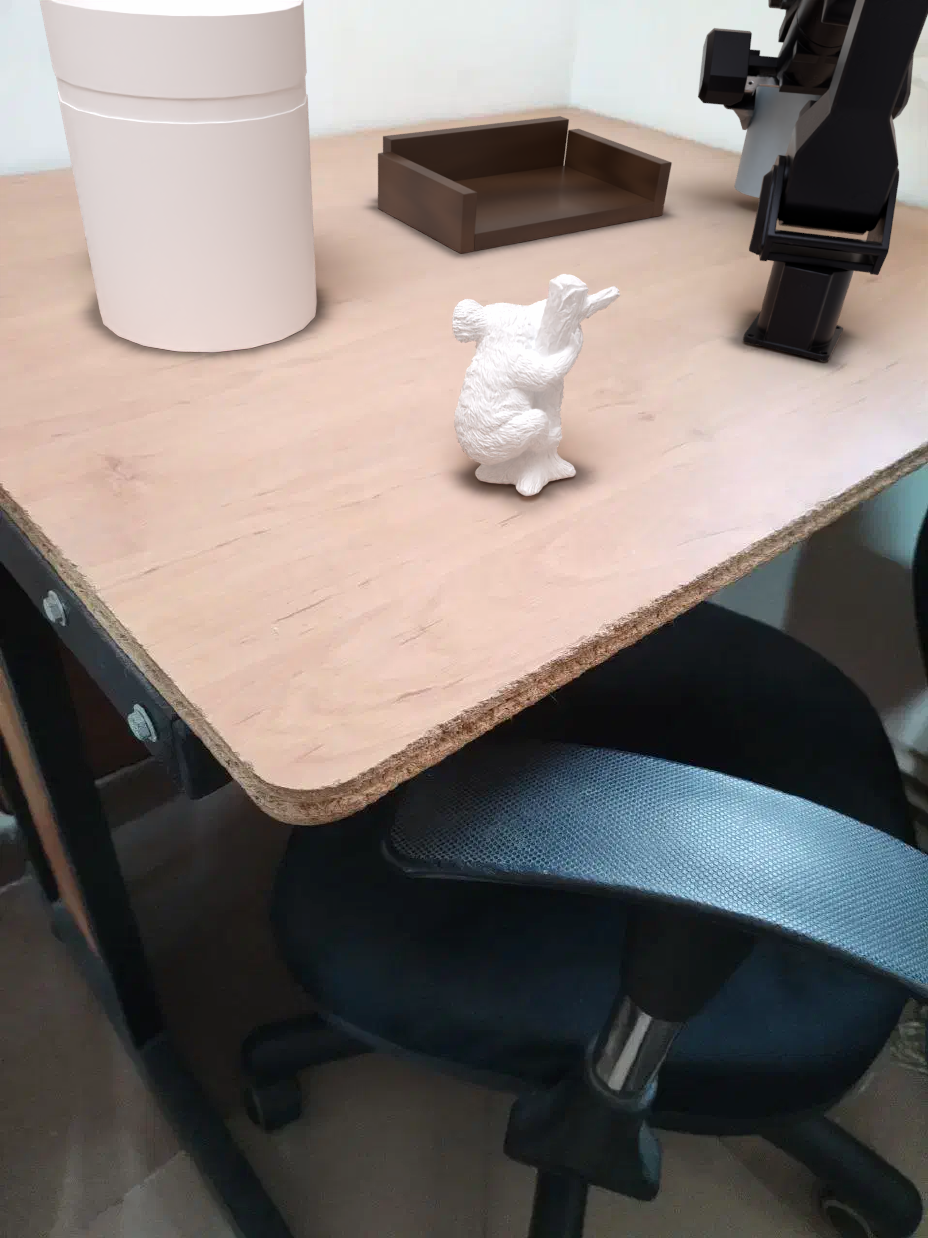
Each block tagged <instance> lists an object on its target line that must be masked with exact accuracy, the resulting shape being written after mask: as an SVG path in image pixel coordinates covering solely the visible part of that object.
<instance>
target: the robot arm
mask: <svg viewBox="0 0 928 1238" xmlns="http://www.w3.org/2000/svg"><path fill="white" fill-rule="evenodd" d="M768 8H769V9H776V10H783V11H785V12H784V13H785V15H784V17H783V19H782V22H781V25H780V27H779V31H778V39H777V40H778V41H777V42H778V43H782V45H781V48H780V50H779V52H778V55H777V56H769V55H761V50H760V49H751V45H752V36H753V33H752V31H751V30H741V29H729V28H719V27H714V28H712V30H710V31H709V32H708V33H707V34H706V36H705V41H704V43H703V46H702V55H701V65H700V72H699V73H700V74H699V82H698V83H699V84H698V94H697V97H698V99H699V100H700V101H701V102H702V104H710V105H720V106H723V107H724V108H725V109H726V110H730V111H733V112H734V113H735V114H736V116H737V117H738V119H739V123H740V126H741V130H742V131H747V128H748V127H749V126H750V122H751V119H752V116H753V112H754V109H755V99H756V89H757V87H758V86H762V87H774V88H779V92H786V93H797V94H809V95H820V96H822V97H821V98H820V99H819V100H818V101H815V100H809V101H808V102H807V103H806V104H805V106H804V107H803V108H802V109H801V111H800V113H799V116H798V120H797V122H796V123H795V126H794V129H793V132H792V136H791V139H790V142H789V145H788V148H787V152H786V155H785V156H784V155H778V156H777V158H776V161H775V164H774V165H773V166H772V168H771V171H769V172H768V173H767V174H766V175H764V176H763V180H762V185H761V191H760V196H759V198H758V203H757V208H756V214H755V220H754V224H753V229H752V233H751V238H750V242H749V246H748V252H750V253H752V254H755V255H756V256H758V258H759V261H760V262H768V261H770V262H773V263H772V267H771V270H770V273H769V278H768V282H767V286H766V289H765V293H764V297H763V301H762V305H761V308H760V311H759V312H758V313H757V315H756V317H754V320H752V322H751V324H750V325H749V327H748V328H747V330H746V331H745V332H744V334H743V337H742V341H743V342H744V343H747V344H751V345H755V346H760V347H764V348H767V349H772V350H776V351H780V352H781V351H782V352H784V353H789V354H793V355H797V356H801V357H805V358H809V359H814V360H817V361H823V362H827V361H829V360H830V359H831V357H832V355H833V353H834V350H835V348H836V346H837V344H838V342H839V340H840V338H841V336H842V334H843V331H844V327H843V326H841V325H838V322H839V320H840V315H841V313H842V309H843V306H844V303H845V300H846V297H847V293H848V291H849V287H850V284H851V281H852V278H853V275H854V272H861V273H867V274H870V275H874V276H878V275H880V271H881V270H882V267H883V265H884V264H885V260H886V258H887V256H888V254H889V249H890V244H891V237H892V230H893V221H894V216H895V209H896V202H897V195H898V188H899V181H900V169H899V155H898V154H899V153H898V146H897V145H898V144H897V136H896V135H897V134H896V128H895V124H894V123H895V122H894V120H896V119H897V118H898V117H900V116H901V114H902V112H903V111H904V110H905V108H906V107H907V105H908V103H909V99H910V97H911V93H912V92H911V91H912V79H913V68H914V67H913V66H914V56H915V55H914V54H915V51H916V49H917V45H918V43H919V40H920V38H921V34H922V32H923V29H924V26H925V23H926V21H927V18H928V0H768ZM777 224H778V226H781V227H786V228H787V227H789V228H797V229H805V230H814V231H822V232H830V233H831V232H832V233H839V234H847V235H855V236H863V235H865V234H866V233H867V235H866V239H860V238H852V237H843V236H836V235H835V236H833V235H826V234H817V233H810V232H801V231H793V230H785V229H777Z"/></svg>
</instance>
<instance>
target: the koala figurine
mask: <svg viewBox="0 0 928 1238" xmlns="http://www.w3.org/2000/svg"><path fill="white" fill-rule="evenodd" d="M547 290H548V293H547V298H544V299H543V300H538V301H536V302H534V303H531V304H529V305H523V304H517V303H510V302H506V301H504V302H494V303H490V304H486V305H485V306H483V305H482V304H481V303H479V302H477V300H475V299H471V298H464V299H463V300H460V301H458V302H457V304H456V305H455V306H454V308H453V312H452V317H451V323H452V324H451V327H452V329H451V330H452V334H453V336H454V338H455V339H456V341H458V342H459V343H462V344H463V343H464V344H466V343H470V342H475V346H474V348H475V353H474V355H473V357H472V358H471V360H470V362H471V364H470V365H469V366H468V367H467V368H466V370H465V375H464V379H463V383H462V385H461V388H460V394H459V396H458V398H457V399H458V400H457V405H456V408H455V411H454V421H453V425H454V432H455V435H456V439H457V443H458V445H459V446H460V448H461V450H462V451H463V453H464V454H465V455H466V457H467V458H469V459H471V460H472V461H473V462H476V463H478V464H480V465H479V466H478V467H477V468H476V469H475V471H474V475H475V477H476V478H477V479H478V481H480V482H485V483H489V484H501V485H502V484H503V485H514V486H515V489H516V491H517V492H518V493H519V494H520V495H522V496H525V497H529V496H534V495H537V494H539V493H540V491H541V490H542V489H543V487H545V486H546V485H547V484H548V483H549V482H553V481H558V480H560V479H561V480H562V479H566V478H567V479H568V478H573V477H574V476H575V475H576V474H577V470H576V468H575V466H574V465H573V464H572V463H571V462H569V461H567V460H565V459H563V458H562V457H561V456H560V455H559V454H558V447H559V446H560V442H561V441H562V439H563V434H562V428H563V427H562V426H561V425H562V418H561V411H562V408H561V406H562V404H563V399H564V389H565V379H564V378H565V377H566V376H567V375H568V373H569V372H570V371H571V370H572V369H573V366H574V365H575V363H576V361H577V360H578V358H579V355H580V353H581V351H582V349H583V343H584V332H583V329H582V325H581V322H583V321H584V320H586V319H590V318H591V317H592V316H593V315H595V314H596V313H598V312H599V311H602V310H605V309H607V308H608V307H610V305H611V304H613V303H614V302H616V301H617V299H618V298H619V297H621V293H620V289H619V288H618V287H617V286H615V285H612V286H609V287H607V288H604V289H601V290H599V291H597V292H596V293H592V294H588V292H589V288H588V285H587V283H586V282H584V281H582V279H580V278H579V277H577V276H575V275H574V274H569V273H561V274H559V275H557V276H555V277H554V278H551V279H549V283H548V289H547Z"/></svg>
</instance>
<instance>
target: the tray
mask: <svg viewBox="0 0 928 1238" xmlns="http://www.w3.org/2000/svg"><path fill="white" fill-rule="evenodd" d="M569 123H570V119H569V118H566V117H564V116H561V115H557V116H549V117H541V118H540V117H539V118H531V119H521V120H514V121H513V120H512V121H505V122H496V123H487V124H477V125H470V126H462V127H461V126H459V127H451V128H443V129H433V130H425V131H416V132H407V133H398V134H389V135H383V136H382V152H378V153H377V209H378V210H380V211H382V212H384V213H386V214H388V215H390V216H391V217H393V218H395V219H397V220H399V221H401V222H402V223H404V224H406V225H407V226H410V227H412V228H413V229H415V230H417V231H418V232H421V233H422V234H424V235H426V236H428V237H429V238H431V239H433V240H435V241H437V242H438V243H441V244H442V245H444V246H446V247H448V248H450V249H452V250H453V251H455V252H457V253H459V254H464V253H470V252H476V251H481V250H486V249H492V248H496V247H497V248H498V247H502V246H509V245H513V244H518V243H524V242H528V241H529V242H530V241H533V240H539V239H544V238H549V237H555V236H560V235H566V234H571V233H576V232H582V231H587V230H593V229H597V228H603V227H607V226H614V225H619V224H623V223H624V224H625V223H629V222H634V221H639V220H644V219H645V220H646V219H649V218H654V217H660V216H663V214H664V207H665V202H666V197H667V190H668V186H669V179H670V174H671V168H672V164H673V163H672V161H669V160H666V159H664V158H661V157H659V156H655V155H652V154H651V153H647V152H644V151H641V150H639V149H636V148H633V147H631V146H628V145H625V144H622V143H619V142H617V141H614V140H611V139H609V138H605V137H604V136H601V135H597V134H595V133H592V132H589V131H586V130H584V129H581V128H572V129H569Z"/></svg>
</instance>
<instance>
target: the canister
mask: <svg viewBox="0 0 928 1238" xmlns="http://www.w3.org/2000/svg"><path fill="white" fill-rule="evenodd" d="M39 3H40V5H39V6H40V9H41V10H40V11H41V14H42V21H43V25H44V31H45V35H46V40H47V47H48V51H49V56H50V61H51V66H52V70H53V72H54V76H55V78H56V83H57V89H58V91H57V97H58V102H59V108H60V114H61V118H62V123H63V128H64V134H65V139H66V145H67V149H68V153H69V159H70V164H71V170H72V174H73V179H74V185H75V186H74V187H75V190H76V195H77V201H78V206H79V211H80V216H81V221H82V227H83V232H84V236H85V237H84V238H85V242H86V247H87V252H88V258H89V262H90V268H91V273H92V278H93V284H94V289H95V293H96V298H97V303H98V308H99V313H100V317H101V320H102V324H103V326H105V327H106V328H107V329H108V330H110V331H111V332H112V333H114V334H115V335H116V336H117V337H119V338H122V339H125V340H127V341H130V342H133V343H135V344H138V345H140V346H143V347H149V348H154V349H161V350H166V351H173V352H184V353H185V352H186V353H188V352H189V353H220V352H221V353H222V352H229V351H236V350H238V351H239V350H247V349H254V348H257V347H261V346H265V345H268V344H272V343H276V342H280V341H282V340H284V339H286V338H288V337H290V336H292V335H295V334H296V333H299V332H300V331H302V330H304V329H305V328H306V327H307V326H308V325H309V324H310V323H311V322H312V321H313V320H314V318H315V317H316V314H317V307H318V306H317V304H318V298H317V279H316V256H315V254H316V253H315V232H314V231H315V229H314V210H313V207H314V205H313V186H312V185H313V184H312V161H311V141H310V118H309V96H308V94H307V85H306V81H307V79H306V76H307V73H308V72H307V71H308V70H307V47H306V25H305V5H304V4H305V3H304V0H39Z"/></svg>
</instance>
